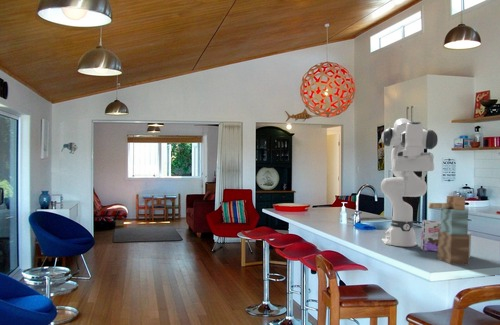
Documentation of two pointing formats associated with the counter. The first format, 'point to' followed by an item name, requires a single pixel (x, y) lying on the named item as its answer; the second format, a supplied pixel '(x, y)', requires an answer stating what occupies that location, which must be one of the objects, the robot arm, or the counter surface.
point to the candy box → (430, 235)
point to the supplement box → (469, 242)
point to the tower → (453, 237)
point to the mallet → (450, 203)
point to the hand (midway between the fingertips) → (413, 180)
